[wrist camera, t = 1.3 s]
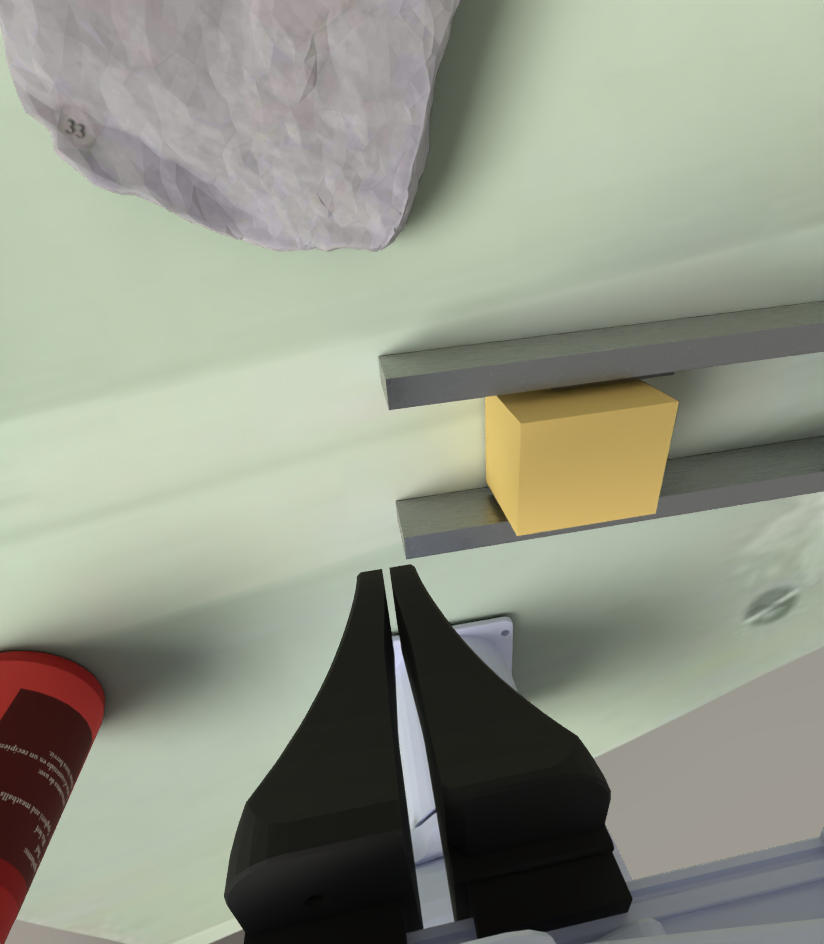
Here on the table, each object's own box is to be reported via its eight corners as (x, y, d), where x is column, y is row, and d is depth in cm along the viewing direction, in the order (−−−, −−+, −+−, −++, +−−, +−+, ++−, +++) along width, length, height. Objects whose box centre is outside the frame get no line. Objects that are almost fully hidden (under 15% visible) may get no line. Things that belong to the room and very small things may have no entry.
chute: (851, 450, 26) (908, 477, 23) (398, 521, 24) (406, 559, 21) (919, 288, 22) (998, 300, 19) (378, 356, 20) (385, 378, 17)
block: (602, 463, 24) (655, 513, 20) (485, 481, 23) (517, 536, 19) (615, 366, 21) (678, 401, 17) (485, 383, 21) (520, 423, 17)
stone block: (406, 248, 20) (479, -119, 14) (415, 289, 16) (519, -191, 10) (91, 181, 17) (5, -297, 11) (16, 209, 14) (-171, -476, 8)
